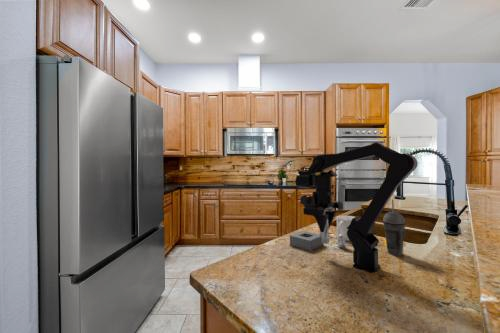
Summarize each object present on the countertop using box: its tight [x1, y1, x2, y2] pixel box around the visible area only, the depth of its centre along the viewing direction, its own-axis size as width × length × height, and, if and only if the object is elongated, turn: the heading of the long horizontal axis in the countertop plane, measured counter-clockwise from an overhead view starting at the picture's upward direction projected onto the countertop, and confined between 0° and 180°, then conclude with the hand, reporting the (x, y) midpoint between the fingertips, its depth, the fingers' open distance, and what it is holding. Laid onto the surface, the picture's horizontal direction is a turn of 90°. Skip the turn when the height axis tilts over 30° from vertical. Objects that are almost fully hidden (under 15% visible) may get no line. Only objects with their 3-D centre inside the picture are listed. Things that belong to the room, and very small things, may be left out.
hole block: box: [289, 230, 325, 252], centre depth 97 cm, size 10×10×4 cm
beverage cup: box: [382, 198, 406, 257], centre depth 85 cm, size 7×7×20 cm
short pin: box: [336, 234, 347, 250], centre depth 93 cm, size 3×3×5 cm
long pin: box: [319, 219, 330, 244], centre depth 84 cm, size 3×3×10 cm
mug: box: [336, 215, 356, 242], centre depth 104 cm, size 12×9×9 cm
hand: (324, 231), depth 84 cm, fingers closed on long pin, 3 cm apart
